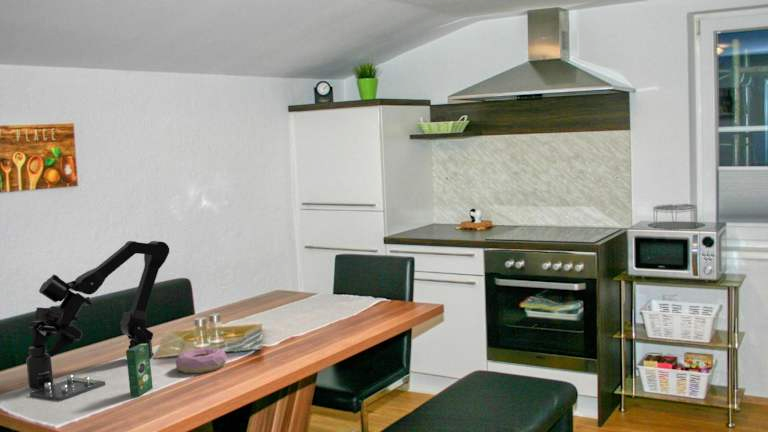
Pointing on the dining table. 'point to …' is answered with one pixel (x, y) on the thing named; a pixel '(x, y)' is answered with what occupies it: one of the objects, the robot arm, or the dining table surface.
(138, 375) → the coffee box
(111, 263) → the robot arm
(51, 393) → the chassis
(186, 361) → the donut
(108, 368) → the dining table surface
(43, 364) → the supplement bottle
